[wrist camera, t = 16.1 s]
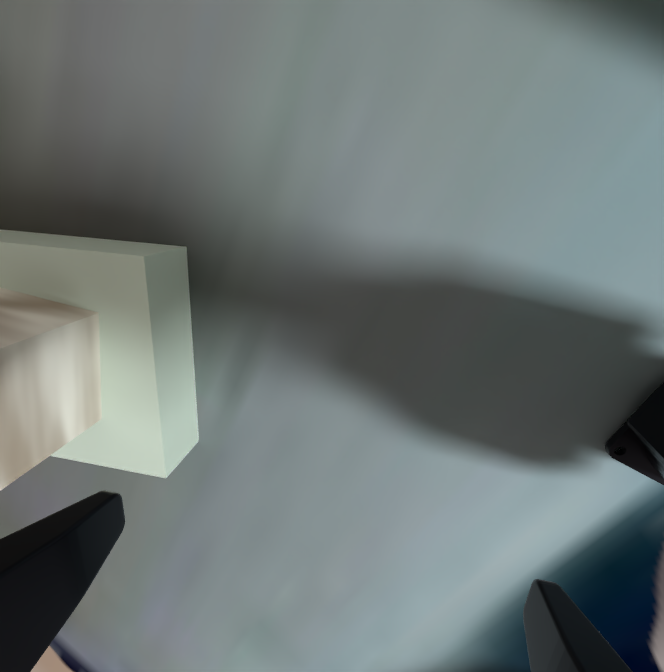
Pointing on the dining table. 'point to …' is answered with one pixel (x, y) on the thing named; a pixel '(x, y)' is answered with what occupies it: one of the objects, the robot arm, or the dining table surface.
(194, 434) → the sage block
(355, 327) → the dining table surface
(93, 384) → the cream block
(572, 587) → the dining table surface
